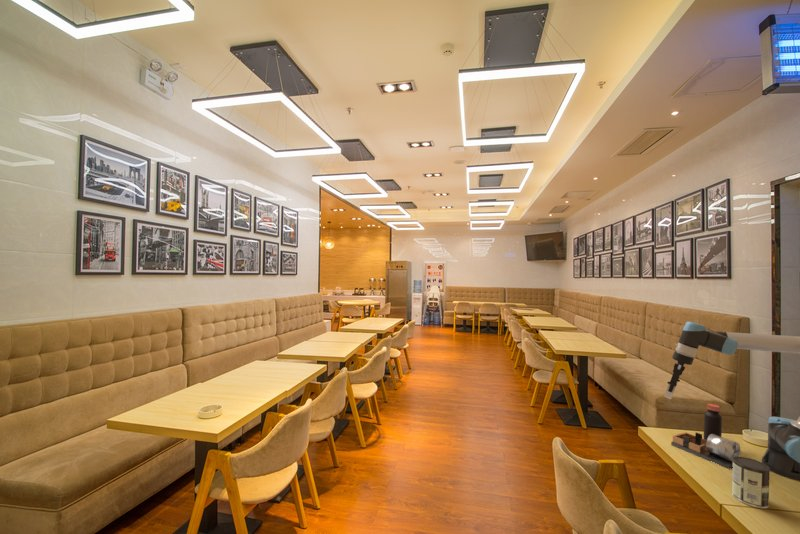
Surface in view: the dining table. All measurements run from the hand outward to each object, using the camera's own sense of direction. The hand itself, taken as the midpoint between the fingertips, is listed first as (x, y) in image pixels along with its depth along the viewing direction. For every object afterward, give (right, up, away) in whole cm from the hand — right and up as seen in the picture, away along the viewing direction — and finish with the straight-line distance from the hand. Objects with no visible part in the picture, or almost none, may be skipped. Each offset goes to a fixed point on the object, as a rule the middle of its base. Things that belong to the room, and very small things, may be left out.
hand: (668, 395), depth 168 cm
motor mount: (+19, -29, +2) cm, 35 cm away
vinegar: (+31, -30, +12) cm, 45 cm away
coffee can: (+6, -28, -33) cm, 44 cm away
